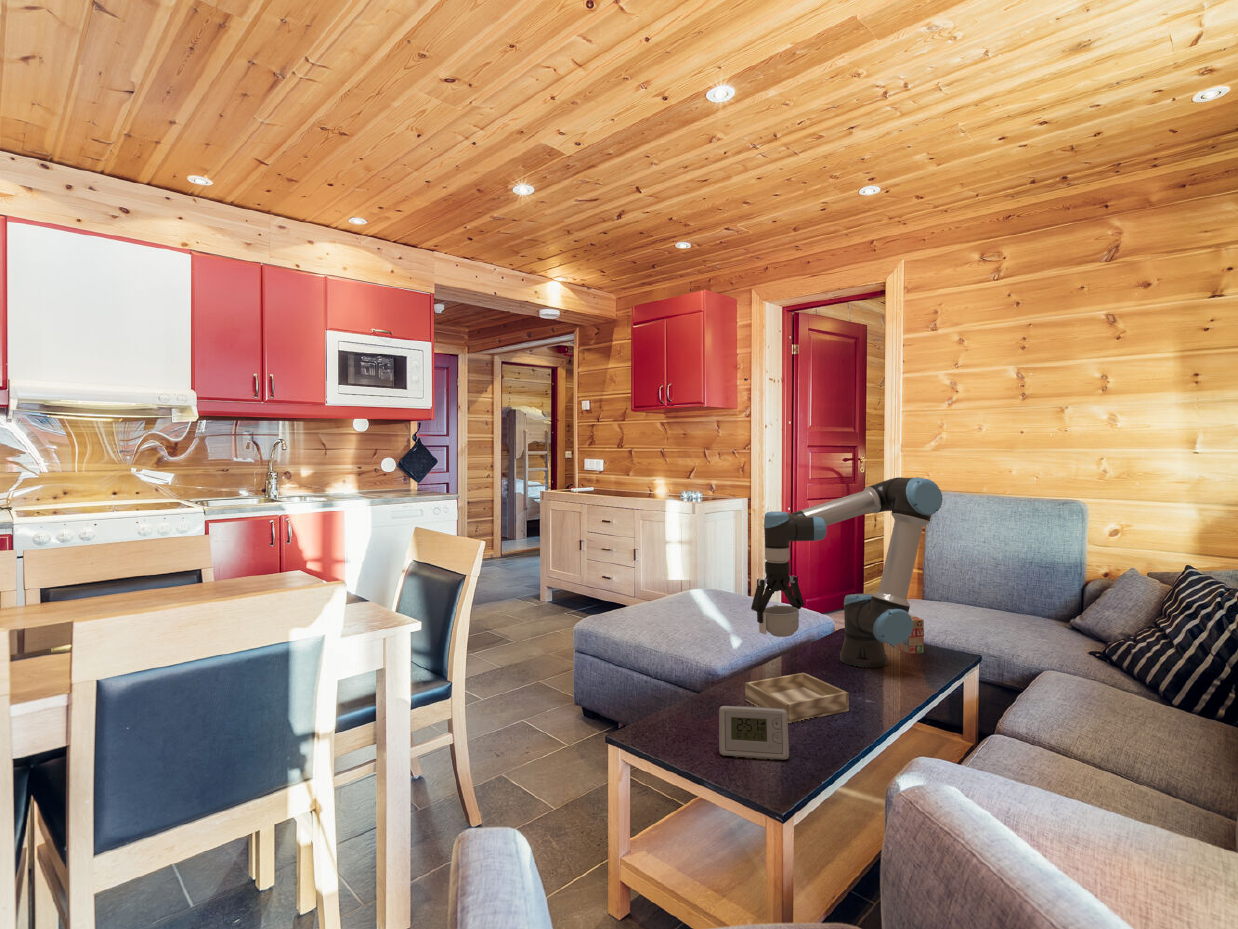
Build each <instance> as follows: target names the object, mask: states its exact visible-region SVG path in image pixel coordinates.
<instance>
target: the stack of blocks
mask: <svg viewBox="0 0 1238 929" xmlns="http://www.w3.org/2000/svg"><path fill="white" fill-rule="evenodd" d="M908 614H909V615H910V616H911V619H912V620H913V630H912V633H911V635H910V636H909V637H908V639H907V640H905V641H903V642H902V643H900V644H895V645H892V644H889V645H888V646H890V645H891V647H892V646H893V648H894V647H895V648H894V649H896V650H899V651H901V652H903V653H905V652H906V653H905V654H907V653H908V654H907V655H917V654H924V653H925V645H924V644H925V640H924V639H925V638H924V636H925V628H924V626H925V622H924V621H925V620H924V619H923V618H920V617H918V616H916V615H913V614H910V613H908Z"/></svg>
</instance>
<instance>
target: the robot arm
mask: <svg viewBox="0 0 1238 929" xmlns="http://www.w3.org/2000/svg"><path fill="white" fill-rule="evenodd" d="M942 504H943V492H942V490H941V489H940V488H939V485H938V484H937V483H936V482H935V481H933V480H931V479H928V478H923V477H918V476H916V477H901V476H899V477H892V478H890V479H887V480H883V481H880V482H877V483H874V484H872V485H869V486H866V487H865V488H864V489H863V491H862V490H861V491H859V492H856V493H852V494H849V495H847V496H843V497H839V498H836V499H833V500H830V501H827V502H823V503H821V504H817V505H813V506H810V507H807V508H803V509H801V510H798V511H794V512H790V513H789V512H787V511H767V512H765V513H764V519H763V520H764V522H763V530H764V535H763V536H764V560H765V562H764V572H765V578H757V579H756V587H755V588H756V589H755V592H754V596H753V600H752V604H751V607H750V609H751V611H755V613H756V621H757V623H758V630H759V632H758V633H760V634H763V635H767V630H766V613H765V612H764V610H765V608H767V605H768V604H769V602H770V600H771V598H772V596H773V595H774V593H775V592H779V591H781V592H783V594H784V596H785V597H786V599H787V601H788V603H789V604H790V606H791V607H795V608H797V609H798V610H799V611H800V610H801V609H802V607H803V606H805V602H804V598H803V596H802V592H801V588H800V586H799V577H798V576H797V575H796V576H795V575H790V573H791V572H790V570H791V568H790V562H789V560H790V558H791V557H790V542H793V543H794V542H816V541H822V540H824V539H825V538H826V536H827V531H828V530H827V526H830V525H833V524H837V523H839V522H843V521H846V520H850V519H852V518H856V517H859V516H862V515H866V514H869V513H871V514H880V513H883V512H891V513H890V514H891V516H892V518H893V519H894V523H893V527H892V530H891V531H892V532H891V537H890V539H889V545H888V548H887V552H886V558H885V561H884V564H883V570H882V573H881V576H880V582H879V586H878V590H877V592H874V593H855V594H853V593H851V594H847V595H845V597H844V598H843V599H844V600H843V609H844V610H843V615H844V640H843V643H842V647H841V649H840V652H839V661H841V663H844V664H845V665H848V666H851V665H853V666H852V667H856V666H858V667H857V668H864V667H865V668H867V669H869V668H870V669H873V668H875V669H876V667H877V668H882V667H885V666H887V664H888V656H887V654H886V652H885V651H886V650H885V648H884V645H883V643H884V644H886V643H887V644H886V645H888V644H892V645H895V644H900V643H902V642H903V641H905V640H907V639H908V637H909V636H910V635H911V633H912V630H913V620H912V619H911V616H910V615H911V614H910V613H909V612H910V608H911V604H910V603H909V601H908V600H907V598H908V593H909V589H910V585H911V580H912V576H913V573H914V567H915V563H916V559H917V554H918V551H919V547H920V542H921V539H922V538H921V537H922V533H923V529H924V527H925V526H926V525H928V524H930V522H931V517H932V516H933V515H934V514H936V513H937V512H939V510H940V509H941V508H942ZM789 585H790V586H789ZM799 611H798V616H799V617H800V614H799ZM909 614H910V615H909ZM868 667H869V668H868Z"/></svg>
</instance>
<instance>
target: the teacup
mask: <svg viewBox="0 0 1238 929" xmlns="http://www.w3.org/2000/svg"><path fill="white" fill-rule="evenodd" d="M798 611H800V609H799V610H798V609H797V608H795V607H792V606H791V605H778V604H775V605H773V606H768V607H767V606H766V608H765V610H764V612H765V613H766V632H768V633H769V634H770V635H771V636H773V637H779V638H785V637H787V638H788V637H791V636H793V635H794V634H795V633H796V632H797V631H799V626H800V620H799V617H800V615H799V616H798Z"/></svg>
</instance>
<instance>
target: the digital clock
mask: <svg viewBox="0 0 1238 929" xmlns="http://www.w3.org/2000/svg"><path fill="white" fill-rule="evenodd" d="M718 728H719V729H718V731H719V732H718V748H719V749H718V750H719V751H718V752H719V754H720V755H722V756H725V757H726V756H727V757H734V758H738V757H745V758H744V759H752V758H756V759H755V760H767V759H770V760H769V761H773V760H784V761H785V760H787V759H789V756H790V746H789V744H790V743H789V724H788V718H787V711H786V710H784V709H773V708H767V707H757V706H748V705H747V706H745V705H744V706H743V705H736V706H735V705H734V706H733V705H731V706H730V705H722V706H720V707H719V709H718Z"/></svg>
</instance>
